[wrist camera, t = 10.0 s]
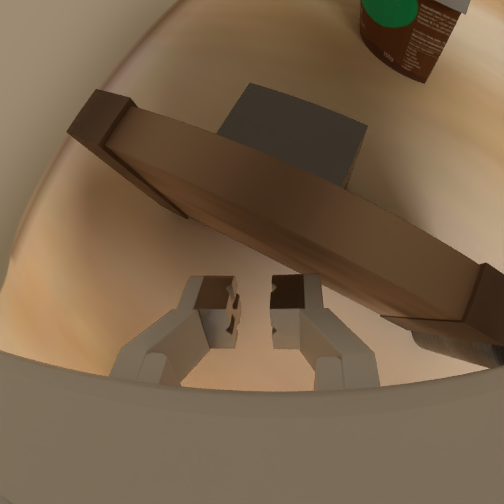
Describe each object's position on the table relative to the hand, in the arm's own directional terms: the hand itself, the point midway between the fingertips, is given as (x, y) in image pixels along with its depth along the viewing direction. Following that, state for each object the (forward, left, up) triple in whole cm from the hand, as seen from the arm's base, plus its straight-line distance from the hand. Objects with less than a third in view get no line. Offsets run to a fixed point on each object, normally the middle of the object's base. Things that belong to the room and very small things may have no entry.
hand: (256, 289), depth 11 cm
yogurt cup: (-14, -16, -6) cm, 22 cm away
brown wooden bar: (-1, -2, -5) cm, 5 cm away
